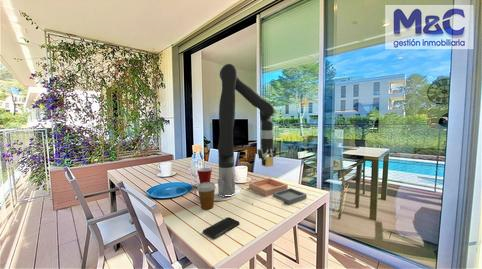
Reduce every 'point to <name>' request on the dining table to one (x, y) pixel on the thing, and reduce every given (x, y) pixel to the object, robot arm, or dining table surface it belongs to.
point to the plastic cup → (204, 174)
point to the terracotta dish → (268, 186)
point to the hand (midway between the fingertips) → (267, 164)
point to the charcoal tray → (290, 195)
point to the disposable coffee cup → (206, 195)
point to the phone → (220, 228)
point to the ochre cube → (268, 161)
